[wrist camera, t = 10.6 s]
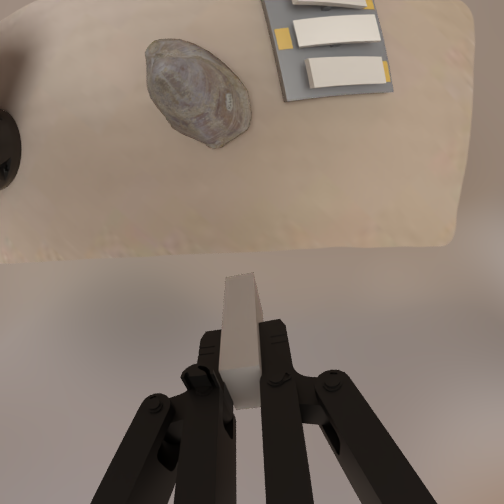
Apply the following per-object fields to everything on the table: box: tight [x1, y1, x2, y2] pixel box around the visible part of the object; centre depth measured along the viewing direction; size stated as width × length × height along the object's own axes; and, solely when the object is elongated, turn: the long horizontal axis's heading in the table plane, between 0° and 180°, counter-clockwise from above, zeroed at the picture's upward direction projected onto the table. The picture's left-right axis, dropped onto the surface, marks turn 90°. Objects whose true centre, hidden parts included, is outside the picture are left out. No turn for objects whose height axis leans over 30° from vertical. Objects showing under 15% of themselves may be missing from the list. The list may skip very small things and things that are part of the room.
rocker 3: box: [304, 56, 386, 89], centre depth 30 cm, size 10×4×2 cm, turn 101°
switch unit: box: [261, 0, 394, 102], centre depth 31 cm, size 15×17×5 cm
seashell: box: [145, 39, 251, 149], centre depth 33 cm, size 9×12×15 cm
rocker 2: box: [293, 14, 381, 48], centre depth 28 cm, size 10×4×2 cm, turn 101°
